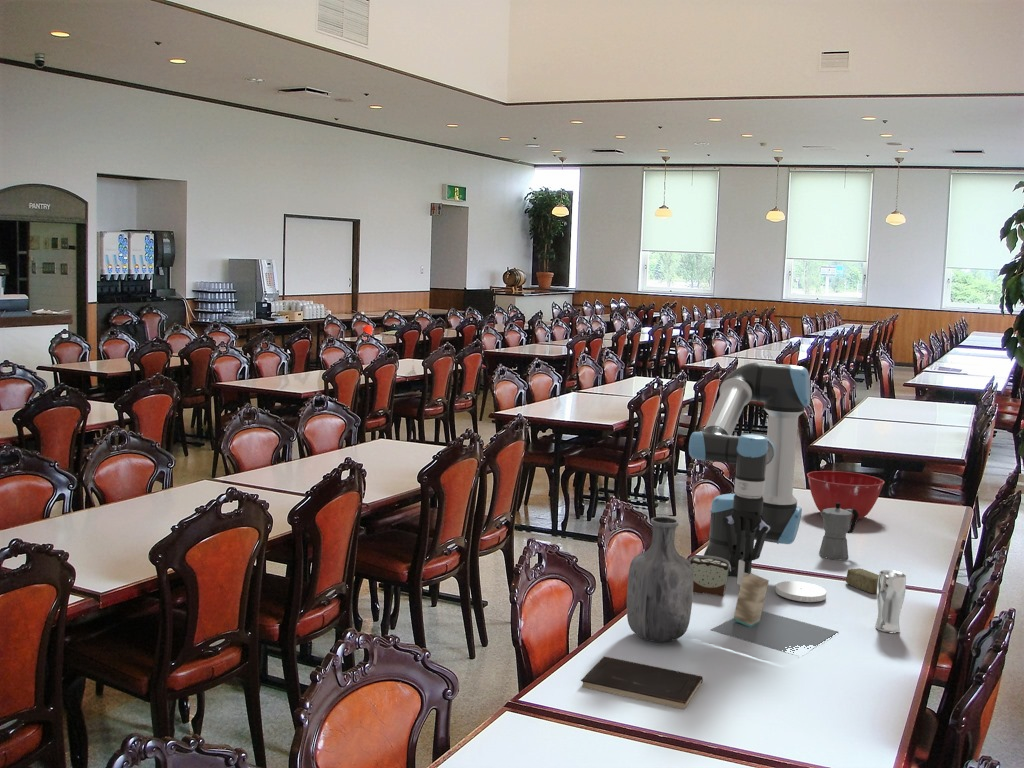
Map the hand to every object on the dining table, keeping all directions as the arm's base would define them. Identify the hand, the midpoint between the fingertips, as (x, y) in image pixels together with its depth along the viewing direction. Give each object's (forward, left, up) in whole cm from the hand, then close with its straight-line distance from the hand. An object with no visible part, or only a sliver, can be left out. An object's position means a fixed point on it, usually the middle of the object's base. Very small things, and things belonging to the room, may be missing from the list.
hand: (742, 583), depth 266 cm
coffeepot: (-8, +84, -11) cm, 85 cm away
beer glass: (+30, +25, -11) cm, 40 cm away
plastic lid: (+2, +34, -11) cm, 36 cm away
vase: (-9, -26, -11) cm, 29 cm away
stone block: (+12, +56, -11) cm, 59 cm away
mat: (+10, 0, -11) cm, 14 cm away
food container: (-18, +17, -11) cm, 27 cm away
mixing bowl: (-29, +141, -11) cm, 144 cm away
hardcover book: (+4, -53, -11) cm, 54 cm away
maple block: (+2, 0, -10) cm, 10 cm away
